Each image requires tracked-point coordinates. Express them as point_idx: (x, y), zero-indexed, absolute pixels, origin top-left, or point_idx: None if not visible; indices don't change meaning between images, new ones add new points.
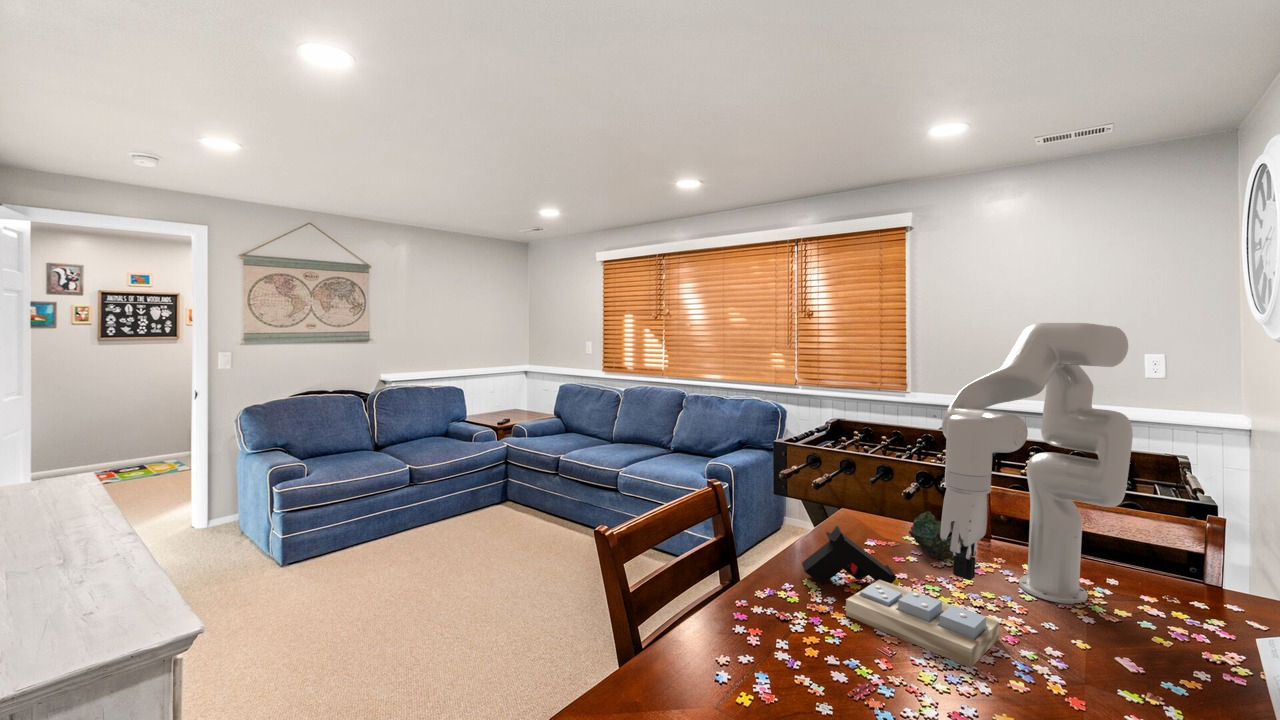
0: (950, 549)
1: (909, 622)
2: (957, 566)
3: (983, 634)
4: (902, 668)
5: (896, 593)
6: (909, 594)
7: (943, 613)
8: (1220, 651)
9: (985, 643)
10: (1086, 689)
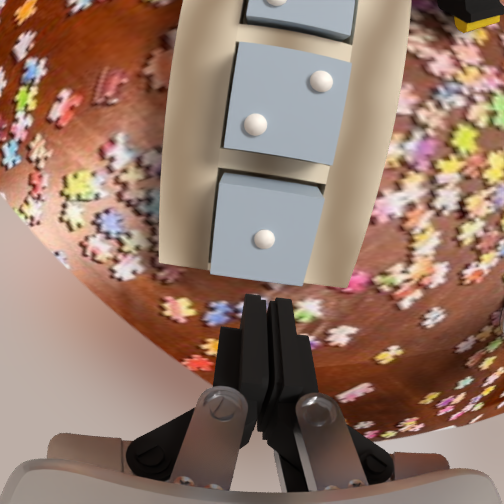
0: (50, 442)
1: (178, 102)
2: (219, 351)
3: None
4: (73, 141)
5: (333, 21)
6: (312, 61)
7: (240, 188)
8: (422, 422)
9: None
10: None
